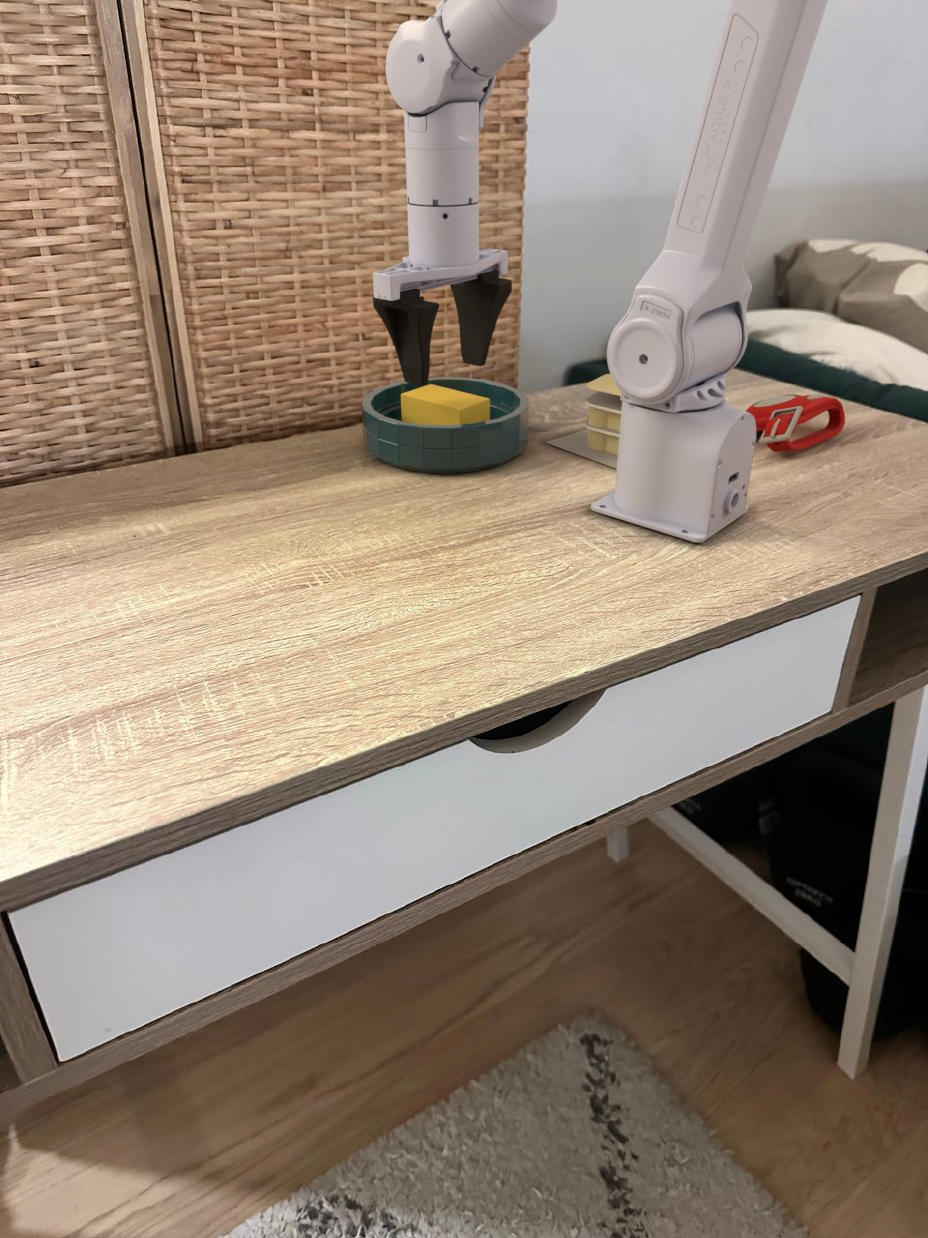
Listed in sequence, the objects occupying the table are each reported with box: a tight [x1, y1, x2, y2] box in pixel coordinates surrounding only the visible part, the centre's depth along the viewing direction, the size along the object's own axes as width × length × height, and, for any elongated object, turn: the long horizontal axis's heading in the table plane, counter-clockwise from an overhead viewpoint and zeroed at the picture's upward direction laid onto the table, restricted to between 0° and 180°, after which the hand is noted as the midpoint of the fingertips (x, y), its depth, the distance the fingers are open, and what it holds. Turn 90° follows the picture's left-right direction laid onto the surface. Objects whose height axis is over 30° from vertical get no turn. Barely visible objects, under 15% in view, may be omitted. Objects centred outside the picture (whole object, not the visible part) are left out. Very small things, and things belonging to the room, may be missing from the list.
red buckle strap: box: [745, 393, 846, 453], centre depth 85 cm, size 12×4×10 cm
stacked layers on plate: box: [544, 373, 622, 470], centre depth 83 cm, size 10×9×6 cm
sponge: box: [401, 384, 490, 425], centre depth 84 cm, size 7×4×4 cm, turn 50°
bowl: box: [361, 376, 530, 474], centre depth 84 cm, size 15×15×4 cm
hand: (445, 373), depth 81 cm, fingers open, 7 cm apart
